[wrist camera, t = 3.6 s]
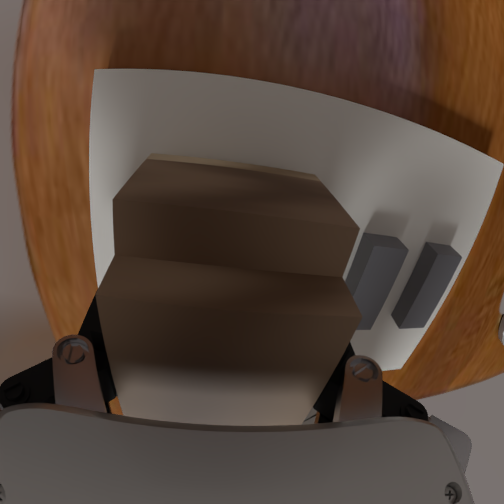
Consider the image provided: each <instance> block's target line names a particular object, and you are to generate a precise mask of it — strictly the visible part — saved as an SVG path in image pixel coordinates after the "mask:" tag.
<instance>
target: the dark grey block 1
mask: <svg viewBox="0 0 504 504" xmlns="http://www.w3.org/2000/svg"><path fill="white" fill-rule="evenodd" d="M408 251H409V250H408V248H407V247H406V246H405V245H404V244H403V243H402V242H401V241H400V240H399V239H398V238H397V237H392V236H385V235H378V234H371V233H364V232H363V235H362V238H361V240H360V243H359V246H358V249H357V251H356V254H355V257H354V259H353V262H352V265H351V267H350V270H349V272H348V275H347V278H346V280H345V283H346V285H347V287H348V289H349V291H350V293H351V295H352V297H353V299H354V301H355V303H356V305H357V307H358V309H359V311H360V313H361V315H362V319H361V321H360V323H359V325H358V327H357V329H356V330H371V328H372V326H373V324H374V322H375V320H376V318H377V317H378V315H379V313H380V311H381V309H382V307H383V305H384V303H385V301H386V299H387V297H388V295H389V293H390V291H391V289H392V286H393V284H394V282H395V280H396V278H397V276H398V274H399V272H400V269H401V267H402V265H403V263H404V260H405V258H406V256H407V254H408Z"/></svg>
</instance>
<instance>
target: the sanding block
mask: <svg viewBox="0 0 504 504" xmlns="http://www.w3.org/2000/svg"><path fill="white" fill-rule="evenodd" d="M112 201H113V235H114V253H115V255H114V257H113V259H112V261H111V263H110V265H109V267H108V269H107V271H106V273H105V275H104V278H103V280H102V282H101V284H100V286H99V288H98V290H97V293H96V301H97V307H98V313H99V318H100V324H101V329H102V334H103V339H104V343H105V348H106V352H107V357H108V361H109V365H110V369H111V373H112V377H113V381H114V384H115V388H116V392H117V395H118V399H119V402H120V405H121V409H122V412H123V415H124V416H129V417H136V418H143V419H151V420H159V421H169V422H179V423H192V424H207V425H231V426H278V425H301V424H302V423H303V421H304V420H305V418H306V417H307V415H308V414H309V412H310V410H311V409H312V407H313V405H314V404H315V402H316V401H317V399H318V397H319V396H320V394H321V392H322V391H323V389H324V387H325V386H326V384H327V382H328V380H329V379H330V377H331V375H332V373H333V372H334V370H335V368H336V366H337V365H338V363H339V361H340V359H341V357H342V355H343V354H344V352H345V350H346V348H347V346H348V344H349V342H350V340H351V339H352V337H353V335H354V333H355V331H356V329H357V327H358V325H359V323H360V321H361V319H362V315H361V313H360V311H359V309H358V307H357V305H356V303H355V301H354V299H353V297H352V295H351V293H350V291H349V289H348V287H347V285H346V283H345V281H344V279H343V274H344V272H345V269H346V266H347V264H348V261H349V258H350V256H351V253H352V250H353V247H354V245H355V242H356V239H357V236H358V233H359V230H360V228H359V226H358V225H357V224H356V223H355V221H354V220H353V219H352V218H351V217H350V215H349V214H348V213H347V212H346V210H345V209H344V208H343V207H342V206H341V204H340V203H339V202H338V201H337V200H336V198H335V197H334V196H333V195H332V194H331V192H330V191H329V190H328V189H327V188H326V187H325V185H324V184H323V183H322V182H321V181H320V180H319V179H318V177H317V176H316V175H315V174H309V173H304V172H298V171H292V170H286V169H280V168H274V167H267V166H261V165H254V164H247V163H239V162H232V161H224V160H216V159H207V158H198V157H188V156H178V155H167V154H154V153H151V154H150V155H149V156H148V157H147V159H146V160H145V161H144V162H143V163H142V164H141V165H140V167H139V168H138V169H137V170H136V171H135V172H134V174H133V175H132V176H131V177H130V178H129V180H128V181H127V182H126V183H125V184H124V186H123V187H122V188H121V189H120V191H119V192H118V193H117V194H116V196H115V197H114V198H113V199H112Z"/></svg>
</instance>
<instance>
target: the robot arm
mask: <svg viewBox="0 0 504 504" xmlns="http://www.w3.org/2000/svg"><path fill="white" fill-rule="evenodd" d="M96 293H97V292H96ZM498 335H499V339H500V341H501V342H502V344H503V345H504V315H503V317H502V320H501V323H500V326H499V332H498ZM116 396H118V395H117V392H116V388H115V384H114V381H113V377H112V373H111V369H110V365H109V361H108V357H107V352H106V348H105V343H104V339H103V334H102V329H101V324H100V318H99V313H98V307H97V301H96V294H95V296H94V298H93V301H92V303H91V305H90V307H89V310H88V312H87V314H86V317H85V319H84V321H83V324H82V326H81V328H80V331H79V333H78V335H68V336H65V337H63V338H61V339H59V340H58V341H57V342H56V343H55V345H54V347H53V351H52V358H50V359H48V360H45V361H43V362H41V363H39V364H37V365H35V366H33V367H31V368H29V369H27V370H24V371H22V372H20V373H18V374H16V375H14V376H12V377H10V378H8V379H7V380H5V381H4V382H3V383H2V384H1V386H0V504H474V501H473V498H472V494H471V491H470V488H469V485H468V483H467V480H466V477H465V471H466V467H467V464H468V460H469V456H470V452H471V447H472V444H471V440H470V438H469V437H468V435H466V434H465V433H464V432H462V431H460V430H459V429H457V428H455V427H453V426H451V425H449V424H447V423H446V422H444V421H442V420H440V419H438V418H437V417H435V416H433V415H431V416H430V417H428V414H427V411H426V409H425V408H424V406H423V405H422V404H421V403H419V402H418V401H416V400H415V399H413V398H411V397H410V396H408V395H406V394H404V393H403V392H401V391H399V390H398V389H396V388H394V387H393V386H391V385H389V384H388V383H386V382H384V381H383V380H382V370H381V368H380V366H379V365H378V363H377V362H376V361H374V360H373V359H371V358H370V357H367V356H363V355H355V352H354V350H353V348H352V345H351V343H350V342H349V344H348V346H347V348H346V350H345V352H344V354H343V355H342V357H341V359H340V361H339V363H338V365H337V366H336V368H335V370H334V372H333V373H332V375H331V377H330V379H329V380H328V382H327V384H326V386H325V387H324V389H323V391H322V392H321V394H320V396H319V397H318V399H317V401H316V402H315V404H314V405H313V409H315V410H316V411H317V413H316V418H315V422H314V424H303V425H278V426H231V425H207V424H192V423H179V422H169V421H159V420H151V419H143V418H136V417H129V416H123V415H116V414H112V412H111V408H110V403H109V401H111V400H113V399H114V398H115V397H116Z"/></svg>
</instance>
